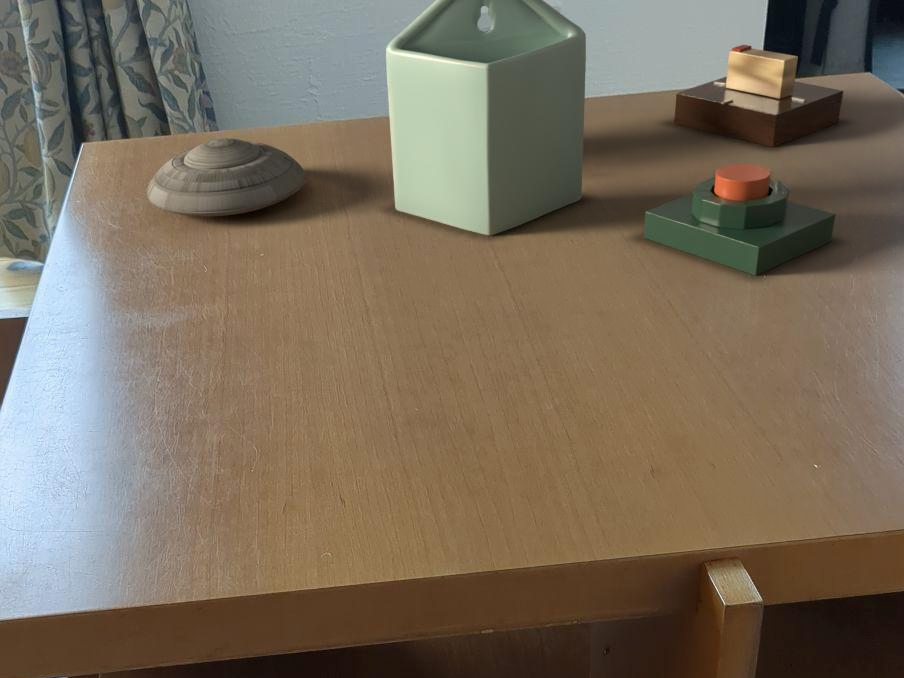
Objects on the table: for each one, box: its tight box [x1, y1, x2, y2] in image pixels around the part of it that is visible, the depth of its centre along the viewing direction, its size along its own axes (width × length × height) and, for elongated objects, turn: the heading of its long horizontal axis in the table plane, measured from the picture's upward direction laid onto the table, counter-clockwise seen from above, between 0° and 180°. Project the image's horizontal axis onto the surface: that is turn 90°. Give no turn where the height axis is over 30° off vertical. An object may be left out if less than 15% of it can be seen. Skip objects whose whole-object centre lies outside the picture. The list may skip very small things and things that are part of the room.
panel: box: [673, 76, 844, 148], centre depth 113 cm, size 12×11×3 cm
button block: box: [643, 176, 836, 276], centre depth 90 cm, size 11×9×4 cm
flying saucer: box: [145, 137, 308, 217], centre depth 106 cm, size 15×15×6 cm
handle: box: [726, 44, 799, 99], centre depth 111 cm, size 6×2×4 cm, turn 36°
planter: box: [385, 0, 587, 237], centre depth 93 cm, size 16×8×20 cm, turn 87°
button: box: [714, 163, 772, 201], centre depth 88 cm, size 4×4×2 cm
